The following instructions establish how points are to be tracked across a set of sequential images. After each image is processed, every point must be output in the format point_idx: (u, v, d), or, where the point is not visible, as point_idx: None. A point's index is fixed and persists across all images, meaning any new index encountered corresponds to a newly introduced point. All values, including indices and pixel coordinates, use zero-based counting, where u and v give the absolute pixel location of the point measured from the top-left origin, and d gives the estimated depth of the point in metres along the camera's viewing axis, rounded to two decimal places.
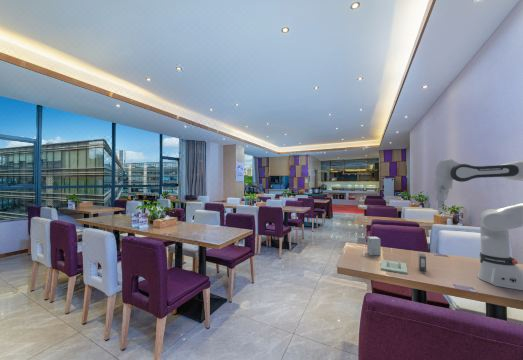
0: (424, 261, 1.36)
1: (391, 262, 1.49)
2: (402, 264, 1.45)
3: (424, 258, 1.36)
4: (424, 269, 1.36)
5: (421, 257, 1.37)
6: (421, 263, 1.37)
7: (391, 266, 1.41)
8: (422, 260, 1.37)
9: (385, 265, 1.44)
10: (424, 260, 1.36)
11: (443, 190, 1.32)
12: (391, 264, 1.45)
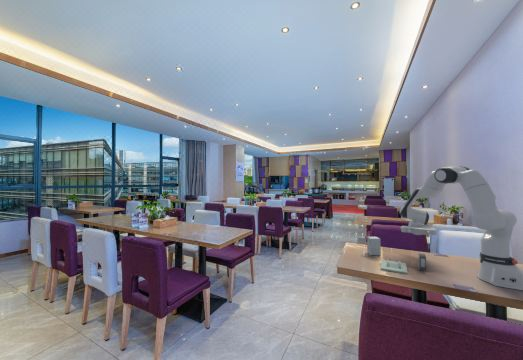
0: (424, 261, 1.36)
1: (391, 262, 1.49)
2: (402, 264, 1.45)
3: (424, 258, 1.36)
4: (424, 269, 1.36)
5: (421, 257, 1.37)
6: (421, 263, 1.37)
7: (391, 266, 1.41)
8: (422, 260, 1.37)
9: (385, 265, 1.44)
10: (424, 260, 1.36)
11: None
12: (391, 264, 1.45)
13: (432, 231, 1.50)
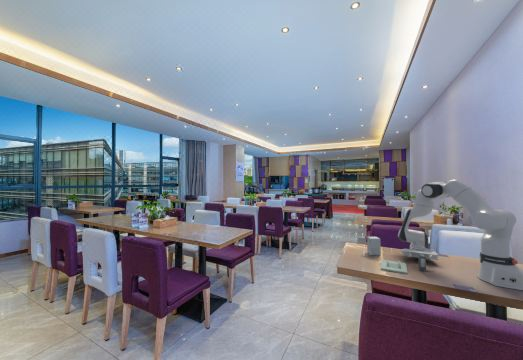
0: (424, 261, 1.36)
1: (391, 262, 1.49)
2: (402, 264, 1.45)
3: (424, 258, 1.36)
4: (424, 269, 1.36)
5: (421, 257, 1.37)
6: (421, 263, 1.37)
7: (391, 266, 1.41)
8: (422, 260, 1.37)
9: (385, 265, 1.44)
10: (424, 260, 1.36)
11: None
12: (391, 264, 1.45)
13: (434, 256, 1.47)
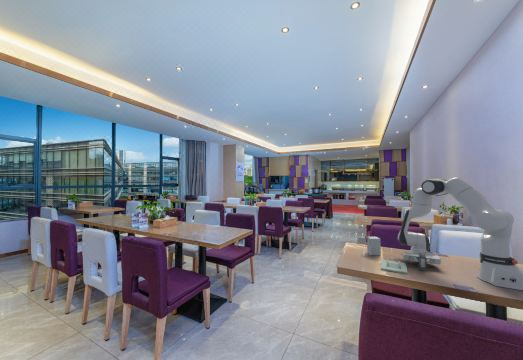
0: (424, 261, 1.36)
1: (391, 262, 1.49)
2: (402, 264, 1.45)
3: (424, 258, 1.36)
4: (424, 269, 1.36)
5: (421, 257, 1.37)
6: (421, 263, 1.37)
7: (391, 266, 1.41)
8: (422, 260, 1.37)
9: (385, 265, 1.44)
10: (424, 260, 1.36)
11: None
12: (391, 264, 1.45)
13: (436, 260, 1.39)
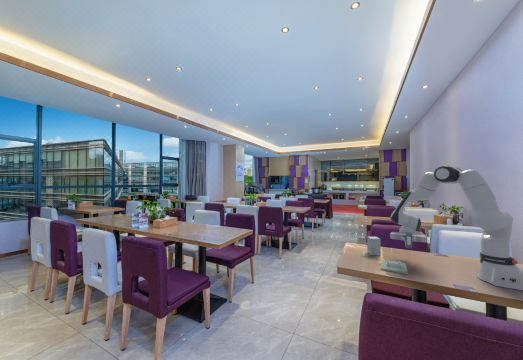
0: (410, 239, 1.39)
1: (391, 262, 1.49)
2: (402, 264, 1.45)
3: (410, 236, 1.39)
4: (410, 246, 1.39)
5: (407, 235, 1.39)
6: (407, 241, 1.39)
7: (391, 266, 1.41)
8: (408, 238, 1.39)
9: (385, 265, 1.44)
10: (410, 237, 1.39)
11: None
12: (391, 264, 1.45)
13: (422, 238, 1.41)
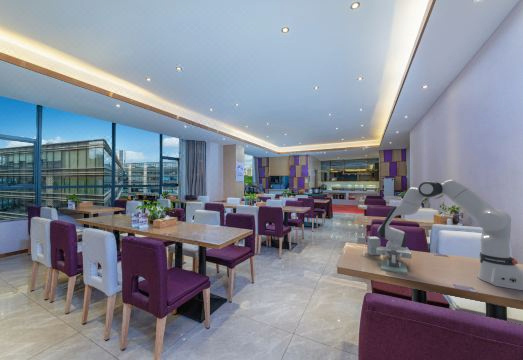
0: (395, 257, 1.40)
1: None
2: (402, 264, 1.45)
3: (395, 254, 1.40)
4: (395, 265, 1.40)
5: (392, 253, 1.41)
6: (392, 259, 1.41)
7: None
8: (393, 256, 1.41)
9: (385, 265, 1.44)
10: (395, 256, 1.40)
11: None
12: None
13: (407, 254, 1.43)
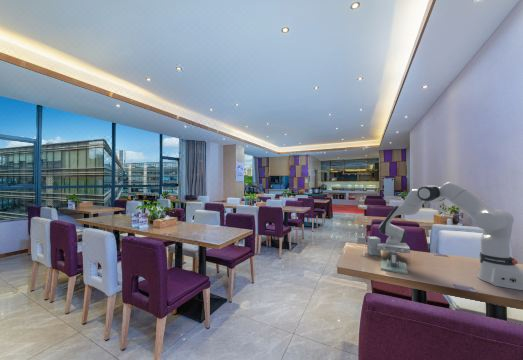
0: (395, 257, 1.40)
1: None
2: (402, 264, 1.45)
3: (395, 254, 1.40)
4: (395, 265, 1.40)
5: (392, 253, 1.41)
6: (392, 259, 1.41)
7: None
8: (393, 256, 1.41)
9: (385, 265, 1.44)
10: (395, 256, 1.40)
11: None
12: None
13: (406, 249, 1.53)
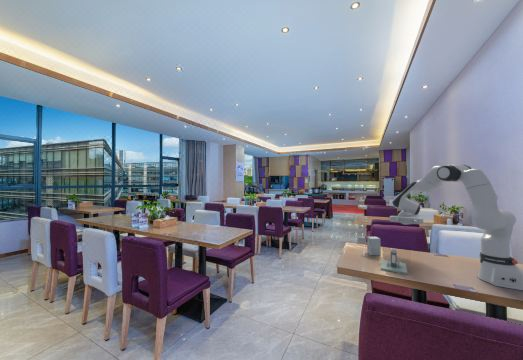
0: (395, 257, 1.40)
1: None
2: (402, 264, 1.45)
3: (395, 254, 1.40)
4: (395, 265, 1.40)
5: (392, 253, 1.41)
6: (392, 259, 1.41)
7: None
8: (393, 256, 1.41)
9: (385, 265, 1.44)
10: (395, 256, 1.40)
11: None
12: None
13: (419, 219, 1.53)
